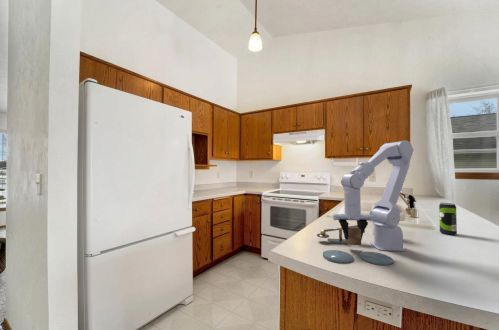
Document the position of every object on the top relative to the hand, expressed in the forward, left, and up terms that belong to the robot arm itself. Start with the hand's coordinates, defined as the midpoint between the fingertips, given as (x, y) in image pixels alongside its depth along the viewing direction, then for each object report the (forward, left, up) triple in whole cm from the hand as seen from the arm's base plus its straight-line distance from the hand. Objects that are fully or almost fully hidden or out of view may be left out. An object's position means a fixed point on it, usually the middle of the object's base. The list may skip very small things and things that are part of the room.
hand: (352, 238), depth 85 cm
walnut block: (0, 0, -2) cm, 2 cm away
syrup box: (-20, -21, -5) cm, 29 cm away
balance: (+2, -9, -4) cm, 10 cm away
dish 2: (-5, +8, -4) cm, 10 cm away
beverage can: (-55, -29, -5) cm, 62 cm away
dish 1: (+8, +8, -4) cm, 12 cm away
